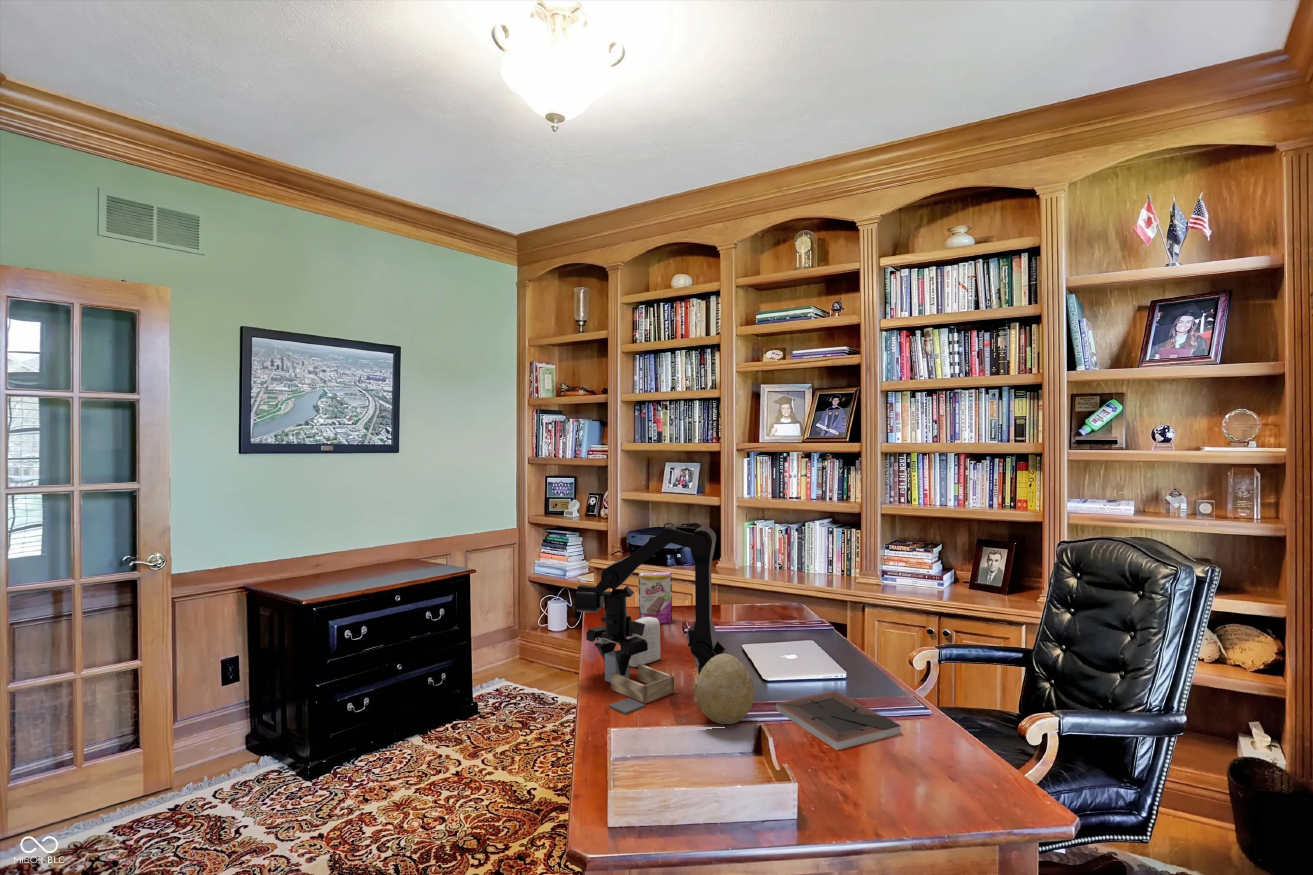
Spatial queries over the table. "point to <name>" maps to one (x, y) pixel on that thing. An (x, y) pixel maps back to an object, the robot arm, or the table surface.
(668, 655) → the table surface
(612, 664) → the slate block
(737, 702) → the fossilized egg
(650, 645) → the white rounded slab
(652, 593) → the candy bar box
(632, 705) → the felt coaster
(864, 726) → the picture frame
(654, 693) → the u-shaped bracket
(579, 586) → the robot arm
